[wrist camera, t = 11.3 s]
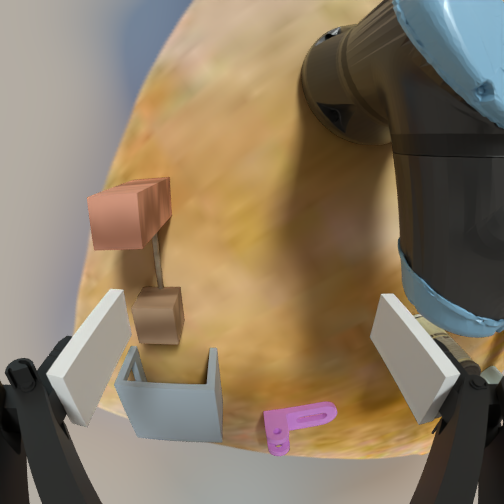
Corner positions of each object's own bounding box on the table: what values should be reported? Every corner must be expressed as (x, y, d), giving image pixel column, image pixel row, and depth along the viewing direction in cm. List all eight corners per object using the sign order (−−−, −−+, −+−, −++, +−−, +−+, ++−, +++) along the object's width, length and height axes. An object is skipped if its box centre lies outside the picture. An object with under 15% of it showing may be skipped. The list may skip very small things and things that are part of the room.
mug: (498, 372, 51) (517, 394, 42) (474, 397, 53) (491, 421, 44) (488, 354, 48) (512, 379, 38) (460, 383, 50) (481, 410, 40)
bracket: (265, 428, 48) (269, 457, 41) (263, 410, 46) (266, 441, 40) (334, 416, 48) (343, 443, 42) (336, 398, 46) (347, 427, 40)
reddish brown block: (131, 180, 32) (84, 197, 21) (171, 177, 32) (139, 192, 21) (149, 319, 39) (124, 378, 27) (184, 320, 39) (169, 381, 27)
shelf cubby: (130, 346, 40) (114, 384, 32) (216, 347, 41) (214, 389, 33) (147, 399, 44) (137, 437, 36) (222, 402, 45) (222, 442, 37)
